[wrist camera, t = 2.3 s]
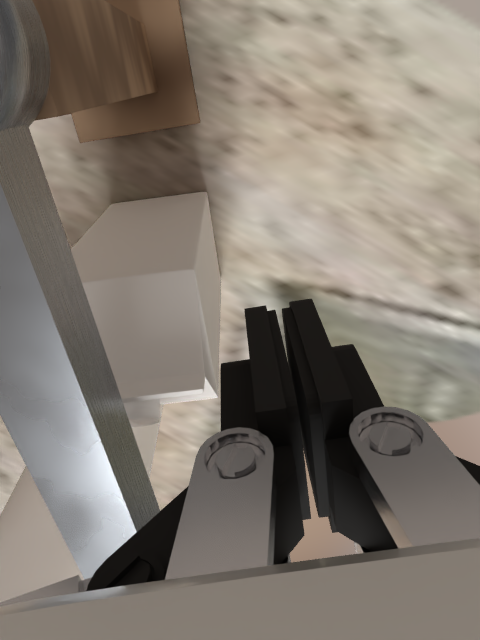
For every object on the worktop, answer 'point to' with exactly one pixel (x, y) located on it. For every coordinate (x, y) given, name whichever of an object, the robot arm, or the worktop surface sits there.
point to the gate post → (117, 66)
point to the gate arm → (56, 333)
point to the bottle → (44, 532)
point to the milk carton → (155, 300)
